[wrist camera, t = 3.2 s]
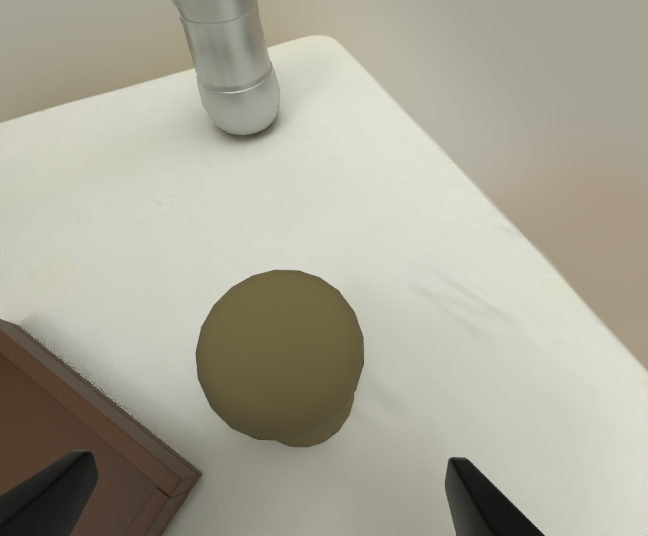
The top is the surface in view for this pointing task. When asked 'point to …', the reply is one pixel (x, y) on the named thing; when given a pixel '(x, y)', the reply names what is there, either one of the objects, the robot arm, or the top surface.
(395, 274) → the top surface
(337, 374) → the cork
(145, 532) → the tray
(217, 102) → the plastic bottle
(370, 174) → the top surface
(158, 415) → the top surface
